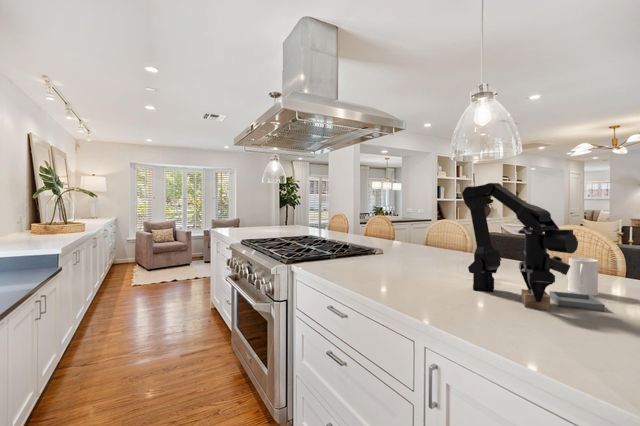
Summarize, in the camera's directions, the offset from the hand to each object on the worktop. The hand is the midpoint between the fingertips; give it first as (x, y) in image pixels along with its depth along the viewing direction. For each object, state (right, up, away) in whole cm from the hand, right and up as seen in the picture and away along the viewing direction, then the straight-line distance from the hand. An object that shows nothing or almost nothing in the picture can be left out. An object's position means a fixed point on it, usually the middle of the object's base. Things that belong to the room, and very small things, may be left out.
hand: (535, 297), depth 97 cm
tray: (+14, -2, +1) cm, 14 cm away
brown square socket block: (0, -2, 0) cm, 2 cm away
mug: (+26, -2, +13) cm, 29 cm away
